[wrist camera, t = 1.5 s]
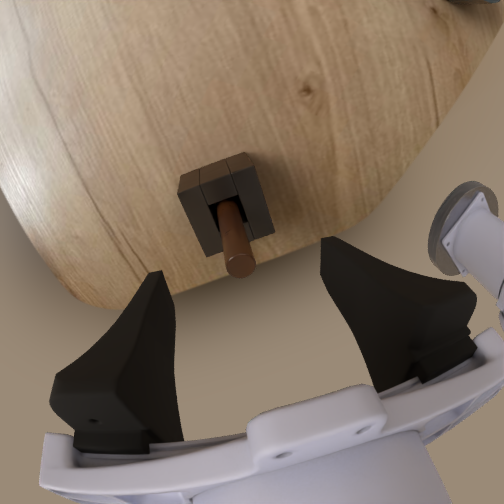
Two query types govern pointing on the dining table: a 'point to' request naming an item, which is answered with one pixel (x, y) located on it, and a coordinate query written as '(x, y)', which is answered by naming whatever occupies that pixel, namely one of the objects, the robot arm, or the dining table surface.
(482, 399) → the robot arm
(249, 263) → the brown cylindrical rod
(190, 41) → the dining table surface
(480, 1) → the bowl
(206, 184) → the stand
